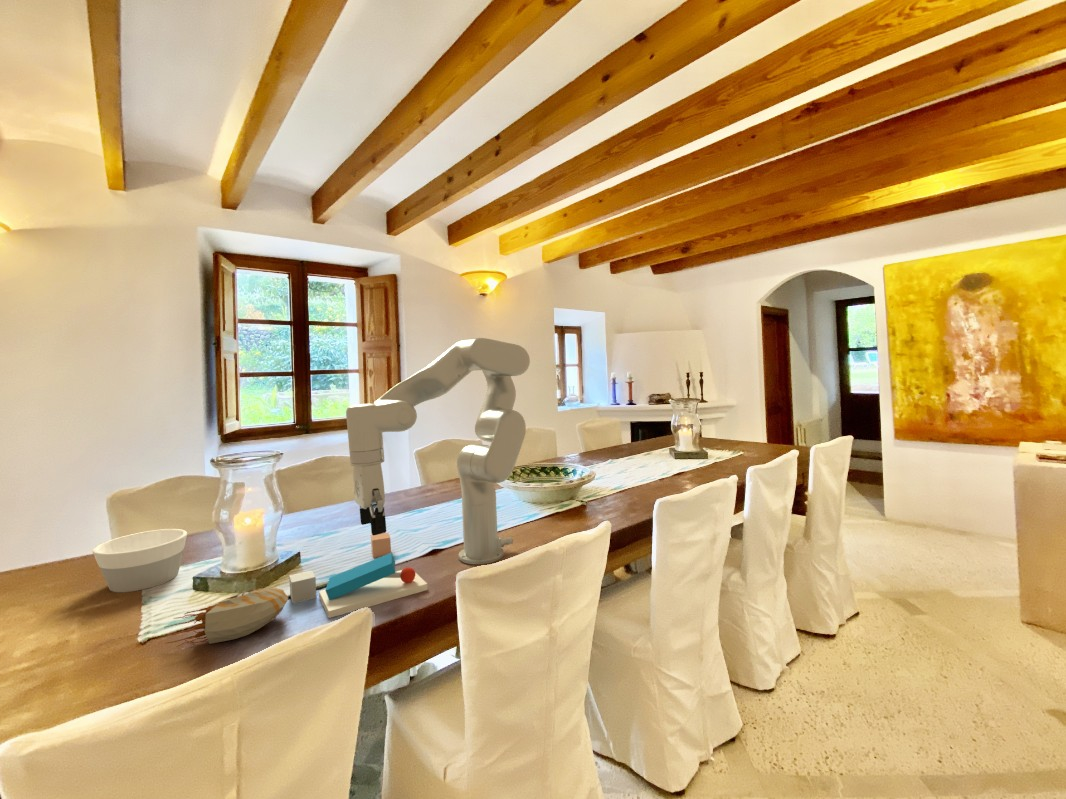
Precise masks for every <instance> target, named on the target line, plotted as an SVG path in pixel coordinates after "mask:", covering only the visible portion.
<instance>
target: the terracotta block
mask: <svg viewBox="0 0 1066 799" xmlns="http://www.w3.org/2000/svg"><path fill="white" fill-rule="evenodd" d="M391 543H392V542H391V535H390V533H389V532H386V533H382V534H378V535H372V534H371V535H370V545H371V546H370V547H371V555H372V558H379V557H382V556H384V555H387V554H389V553H392V546H391Z"/></svg>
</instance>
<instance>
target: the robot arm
mask: <svg viewBox="0 0 1066 799" xmlns="http://www.w3.org/2000/svg"><path fill="white" fill-rule="evenodd" d="M530 363H531V361H530V355H529V353H528V351H527V350H526V348H524V347H523V346H521V345H519V344H517V343H516V344H515V343H511V342H505V341H500V340H496V339H492V338H491V339H490V338H486V337H485V338H484V337H475V338H469V339H463V340H460V341H457V342H456V343H454V344H453V345H452V346H451V347H449V348H448V349H447V350H446V351H444V352H443V353H442V354H440V355H439V356H438V357H437V358H436V359H434V360H433V361H432V362H431V363H429V364H428V365H427V366H426V367H424V368H422V369H421V370H419V371H417V372H415V373H414V374H412V375H411V376H409V377H408V378H406V379H404V380H402V381H401V382H399V383H397V384H396V385H393V387H392V388H390V389H389V390H388V391H386V392H385V393H383V395H381V396H380V397H378V399H377V400H375V401H374V402H373V403H361V404H353V405H350V406H348V407H347V409H346V412H345V413H346V414H345V416H346V426H347V428H346V429H347V438H348V451H349V461H350V466H352V467H353V495H354V497H353V498H354V502H355V503H356V504H358V506H359V515H360V516H359V519H360V524H361V525H363V526H364V525H367V524H370V528H371V529H370V531H371V535H378V534H383V533H387V523H386V522H387V521H386V511H385V507H384V505H385V502H386V493H385V484H384V476H383V468H382V463H384V462H385V450H384V438H383V433H389V432H391V433H393V432H395V433H402V432H406V431H408V430H410V429H411V428H412V427H413V426H414V425H415V423H416V422H417V420H418V419H417V418H418V413H417V411H416V410H417V409H416V408H415V407H416V406H418V405H419V404H423V403H424V402H427V401H430V400H434V399H436V398H440V397H442V396H444V395H446V394H447V393H449V392H450V391H451V390H452V389H453V388H455V387H456V385H457V384H459V383H460V382H461V381H462V380H464V378H466V377H467V376H468V375H469V374H471V372H473V371H481V372H482V373H483V374H484V375H483V376H484V377H485V380H486V383H487V384H486V386H487V390H486V395H485V398H484V401H483V403H482V405H481V408H480V411H479V413H478V416H477V418H476V421H475V424H474V433H475V435H476V437H477V438H478V439H480V440H481V441H484V442H487V443H490V445H489V444H488V445H487V444H480V443H471V444H468V445H466V446H464V447H463V448H461V450H460V451H459V453H458V455H457V459H456V468H457V472H458V477H459V482H460V489H461V509H462V510H461V511H462V512H461V514H462V533H463V534H462V535H463V549H461V550H460V551H459V552H458V560H459V561H460V562H462V563H465V564H470V565H486V564H487V565H488V564H492V563H494V562H496V561H499V560H501V559H502V558H503V557H504V555H505V554H504V552H505V551H504V549H503V548H504V547H505V546H508V545H512V544H513V543H514V538H513V537H512V536H508V537H505V536H499V537H498V516H497V513H498V512H497V492H496V487H495V484H501V483H504V482H505V481H507V480H508V478H510V476H511V475H512V472H513V471H514V468H515V465H516V463H517V460H518V457H519V455H520V451H521V449H522V447H523V443H524V440H525V437H526V432H527V428H526V426H527V425H526V420H525V419H524V417H523V415H522V414H521V413H520V412H519V411H517V410H513V407H514V405H515V402H516V398H517V391H516V390H517V389H516V387H515V384H514V381H513V378H512V377H517V376H518V377H519V376H522V375H523V374H524V373H526V372H527V370H528V369H529V366H530Z"/></svg>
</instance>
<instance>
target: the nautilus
mask: <svg viewBox="0 0 1066 799" xmlns="http://www.w3.org/2000/svg"><path fill="white" fill-rule="evenodd" d="M288 600H289V596H288V595H287V594H286V592H285V591H284V590H283V589H281V588H277V587H273V588H272V587H270V588H269V587H268V588H257V589H249V590H248V589H247V590H246V591H243V592H240V593H239V594H236V595H233V596H231V597H228V598H225V599H223V600H221V601H218V603H217V602H216V603H215V604H213V605H209V606H207V607H203V608H200V609H196V610H192V611H187V612H185V613H184V615H183V616H179V617H174V620H175V619H188V618H192V617H194V619H190V620H188V621H185V622H178V623H174V624H170V625H167V626H164V627H163V628H164V629H165V628H169V627H173V626H177V625H183V624H190V623H193V624H194V626H193V628H190V629H185V630H182V631H179V632H173V633H169V634H168V633H167V636H174V635H179V634H182V633H189V632H192V631H193V632H194V633H196V634H195V635H191V636H188V637H184V638H181V639H177V640H173V641H169V642H166V644H172V643H178V642H181V641H185V642H183V643H180V644H179V645H176V646H175V647H176V648H177V647H179V646H181V645H185V644H189V643H193V644H194V643H195V644H194V645H192V646H191V647H190V649H192V648H193V647H195V646H198V645H200V644H203V643H209V644H216V643H221V642H222V643H223V642H226V641H227V642H228V641H231V640H235V639H239V638H243V637H245V636H246V637H247V636H248V635H250V634H252V633H254V632H255V631H258V630H260V629H261V628H263V627H264V626H265V625H267V624H268V623H270V622H271V621H273V620H274V619H276V618H277V617H278V615H280V613H281V612H282V611H283V609H284V607H285V605H286V604H287V603H288ZM195 612H199V613H196V614H195ZM190 613H191V614H190ZM197 622H199V624H196V623H197ZM200 622H201V623H200ZM195 624H196V625H195ZM196 630H202V631H196ZM191 639H192V640H191ZM196 640H199V641H196Z"/></svg>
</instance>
